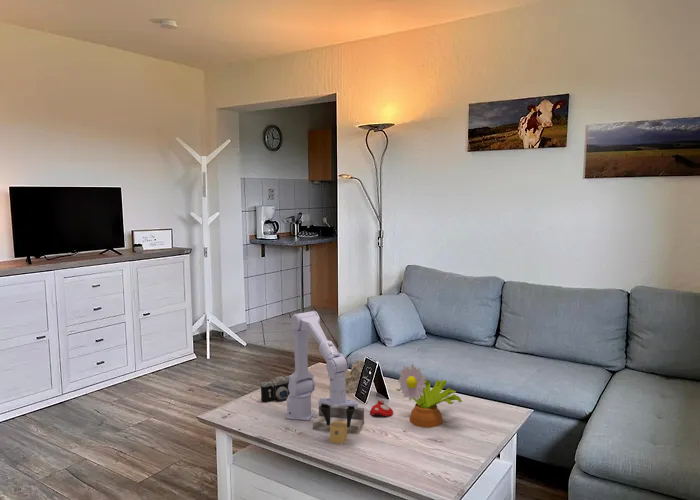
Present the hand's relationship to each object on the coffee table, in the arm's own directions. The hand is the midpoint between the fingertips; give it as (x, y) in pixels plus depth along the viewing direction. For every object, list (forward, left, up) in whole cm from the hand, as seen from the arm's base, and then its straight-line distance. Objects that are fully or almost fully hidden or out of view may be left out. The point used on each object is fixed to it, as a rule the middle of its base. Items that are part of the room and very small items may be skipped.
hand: (338, 425), depth 189 cm
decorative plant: (+31, +24, -6) cm, 40 cm away
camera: (-36, +31, -6) cm, 48 cm away
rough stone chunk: (-9, +53, -6) cm, 54 cm away
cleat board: (-3, +11, -6) cm, 13 cm away
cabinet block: (0, 0, -6) cm, 6 cm away
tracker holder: (+11, +28, -6) cm, 31 cm away
